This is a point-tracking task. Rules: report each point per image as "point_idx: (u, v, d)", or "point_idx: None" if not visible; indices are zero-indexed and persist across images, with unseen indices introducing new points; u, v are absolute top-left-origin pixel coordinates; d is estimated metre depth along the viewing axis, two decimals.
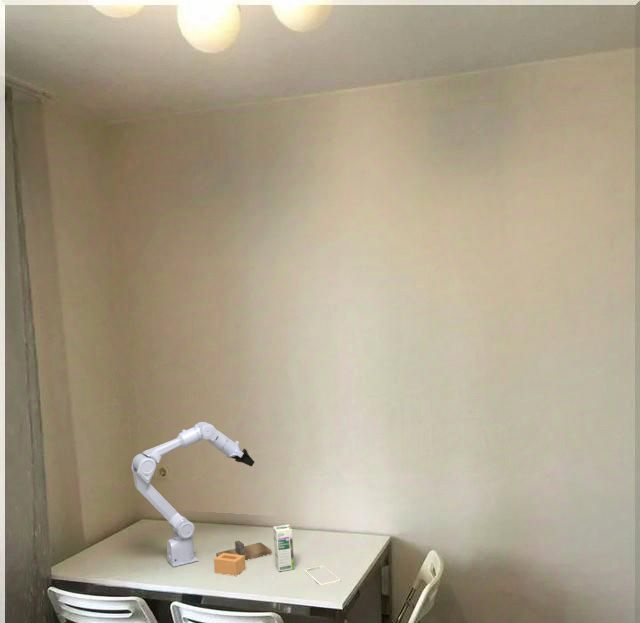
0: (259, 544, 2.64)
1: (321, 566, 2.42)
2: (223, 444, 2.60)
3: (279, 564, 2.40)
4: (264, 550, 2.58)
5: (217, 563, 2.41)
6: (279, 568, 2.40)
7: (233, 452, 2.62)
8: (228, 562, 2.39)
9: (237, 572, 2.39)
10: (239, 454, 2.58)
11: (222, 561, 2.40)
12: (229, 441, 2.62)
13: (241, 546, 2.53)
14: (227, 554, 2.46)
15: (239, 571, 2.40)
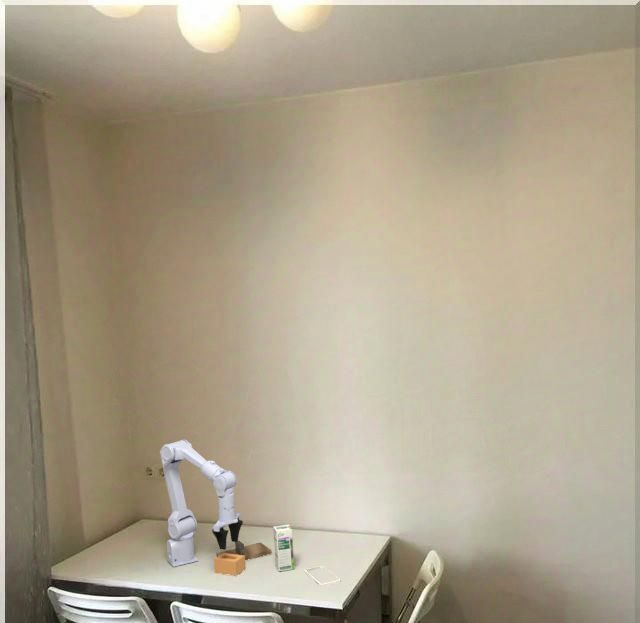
0: (259, 544, 2.64)
1: (321, 566, 2.42)
2: (220, 507, 2.40)
3: (279, 564, 2.40)
4: (264, 550, 2.58)
5: (217, 563, 2.41)
6: (279, 568, 2.40)
7: (221, 522, 2.40)
8: (228, 562, 2.39)
9: (237, 572, 2.39)
10: (215, 527, 2.36)
11: (222, 561, 2.40)
12: (227, 511, 2.40)
13: (241, 546, 2.53)
14: (227, 554, 2.46)
15: (239, 571, 2.40)
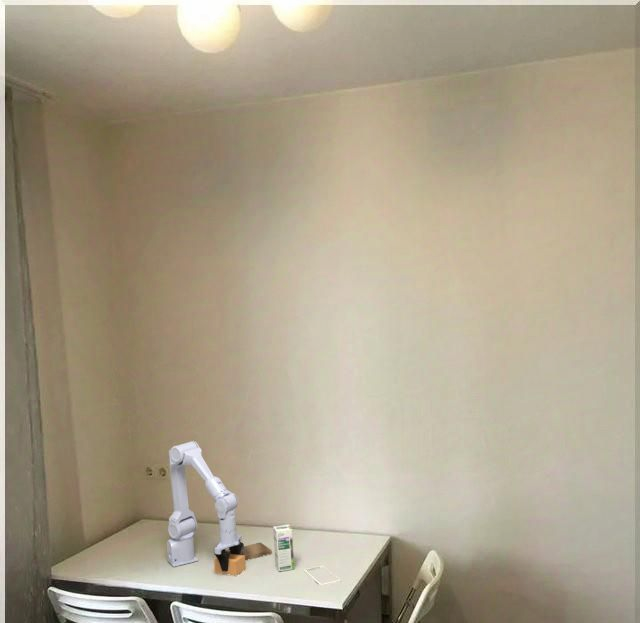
0: (259, 544, 2.64)
1: (321, 566, 2.42)
2: (221, 529, 2.40)
3: (279, 564, 2.40)
4: (264, 550, 2.58)
5: (217, 563, 2.41)
6: (279, 568, 2.40)
7: (222, 544, 2.40)
8: (228, 562, 2.39)
9: (237, 572, 2.39)
10: (216, 550, 2.36)
11: None
12: (229, 534, 2.40)
13: None
14: None
15: (239, 571, 2.40)
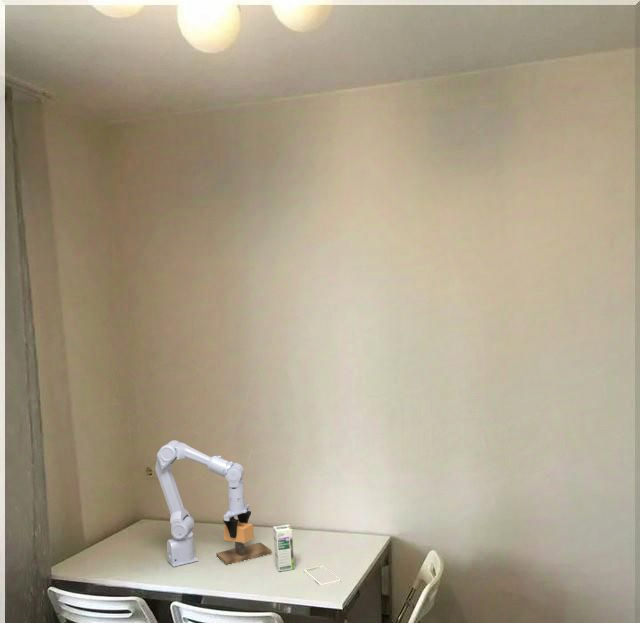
0: (259, 544, 2.64)
1: (321, 566, 2.42)
2: (233, 498, 2.50)
3: (279, 564, 2.40)
4: (264, 550, 2.58)
5: (226, 530, 2.52)
6: (279, 568, 2.40)
7: (230, 512, 2.51)
8: (237, 529, 2.50)
9: (245, 539, 2.49)
10: (225, 517, 2.47)
11: None
12: (237, 502, 2.50)
13: (241, 546, 2.53)
14: None
15: (247, 538, 2.50)
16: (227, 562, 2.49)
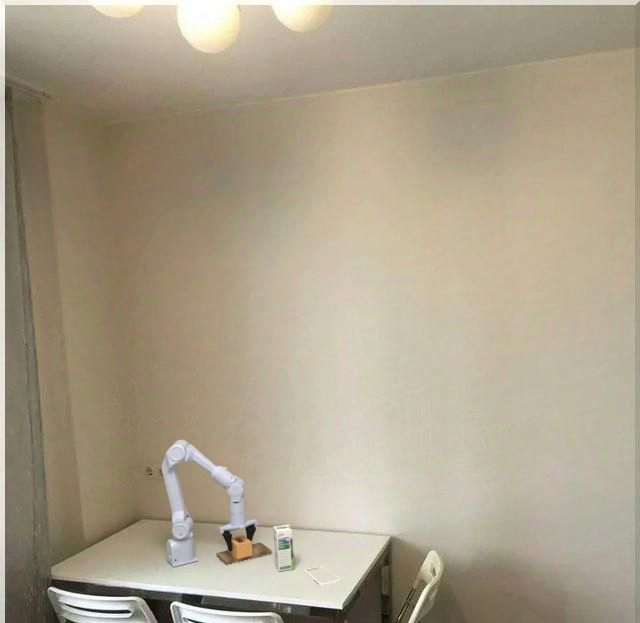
0: (259, 544, 2.64)
1: (321, 566, 2.42)
2: (235, 512, 2.52)
3: (279, 564, 2.40)
4: (264, 550, 2.58)
5: None
6: (279, 568, 2.40)
7: (230, 525, 2.54)
8: (233, 544, 2.52)
9: (239, 555, 2.50)
10: (219, 529, 2.52)
11: None
12: (234, 516, 2.52)
13: None
14: (242, 537, 2.58)
15: (242, 555, 2.51)
16: (227, 562, 2.49)
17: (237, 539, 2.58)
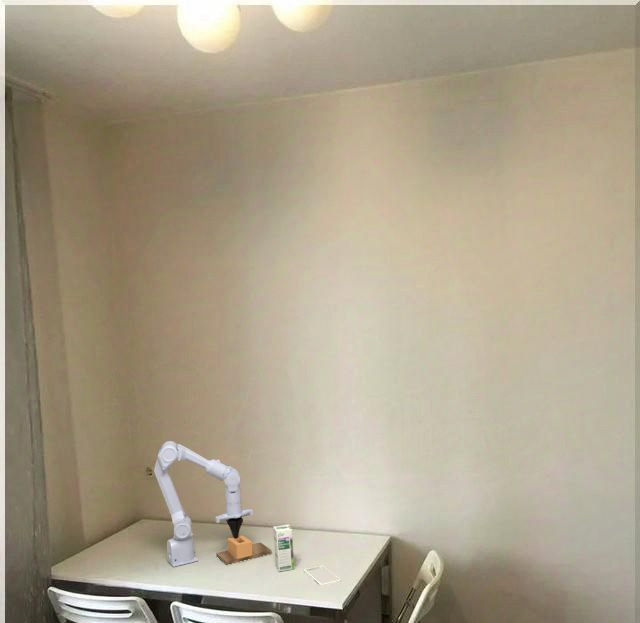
0: (259, 544, 2.64)
1: (321, 566, 2.42)
2: (232, 502, 2.55)
3: (279, 564, 2.40)
4: (264, 550, 2.58)
5: (228, 543, 2.57)
6: (279, 568, 2.40)
7: (226, 514, 2.57)
8: (233, 544, 2.52)
9: (239, 555, 2.50)
10: (215, 518, 2.55)
11: (230, 542, 2.55)
12: (230, 506, 2.56)
13: None
14: (242, 537, 2.58)
15: (242, 555, 2.51)
16: (227, 562, 2.49)
17: (237, 539, 2.58)
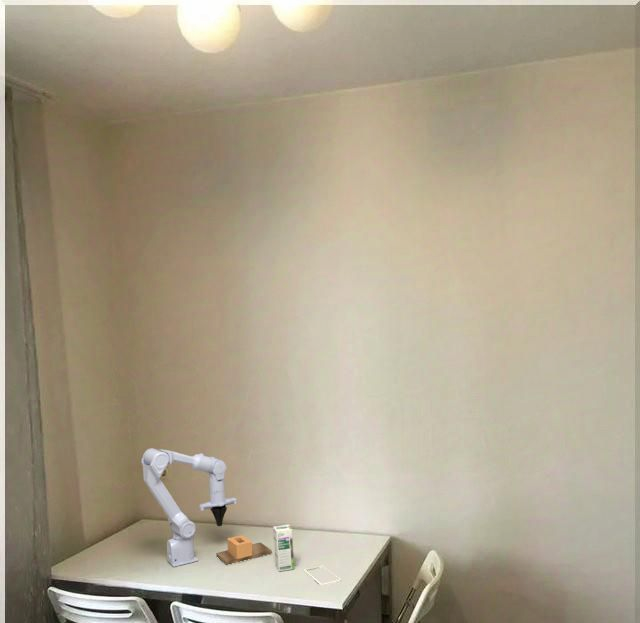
0: (259, 544, 2.64)
1: (321, 566, 2.42)
2: (219, 490, 2.61)
3: (279, 564, 2.40)
4: (264, 550, 2.58)
5: (228, 543, 2.57)
6: (279, 568, 2.40)
7: (210, 503, 2.63)
8: (233, 544, 2.52)
9: (239, 555, 2.50)
10: (199, 507, 2.61)
11: (230, 542, 2.55)
12: (214, 494, 2.61)
13: None
14: (242, 537, 2.58)
15: (242, 555, 2.51)
16: (227, 562, 2.49)
17: (237, 539, 2.58)
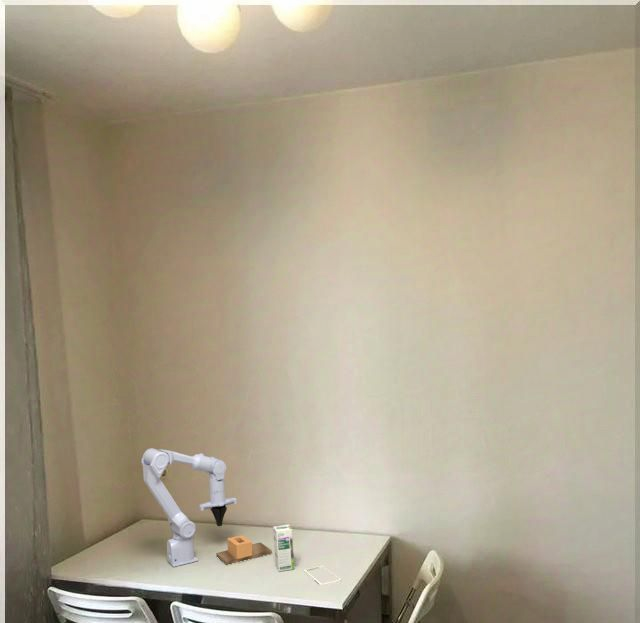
0: (259, 544, 2.64)
1: (321, 566, 2.42)
2: (219, 490, 2.61)
3: (279, 564, 2.40)
4: (264, 550, 2.58)
5: (228, 543, 2.57)
6: (279, 568, 2.40)
7: (210, 503, 2.63)
8: (233, 544, 2.52)
9: (239, 555, 2.50)
10: (199, 507, 2.61)
11: (230, 542, 2.55)
12: (214, 494, 2.61)
13: None
14: (242, 537, 2.58)
15: (242, 555, 2.51)
16: (227, 562, 2.49)
17: (237, 539, 2.58)
